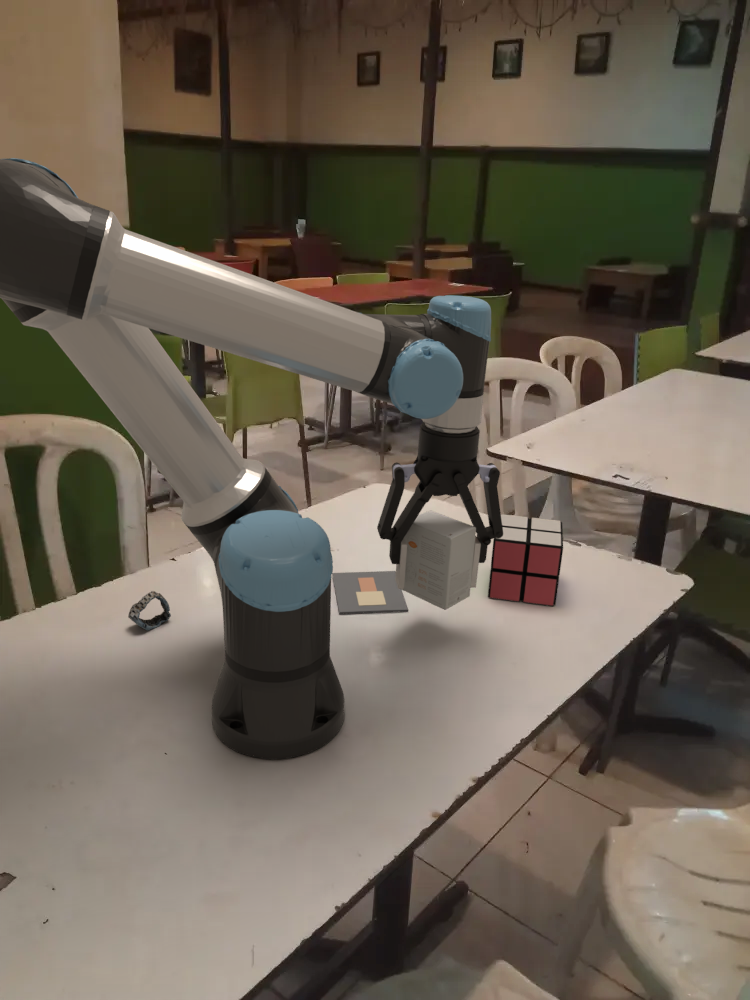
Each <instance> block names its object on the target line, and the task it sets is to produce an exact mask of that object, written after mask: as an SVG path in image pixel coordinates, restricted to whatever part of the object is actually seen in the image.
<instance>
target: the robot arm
mask: <svg viewBox="0 0 750 1000" xmlns="http://www.w3.org/2000/svg"><path fill="white" fill-rule="evenodd" d="M0 299H1V300H2V301H3V302H4V304H6V306H7V307H8V308H9V309H10V311H11V312H12V313H13V314H14V316H15V317H16V318H17V319H18V320H19V322H20V323H21V324H22V325H23V326H26V327H32V328H35V329H36V328H37V329H40V330H44V331H46V332H48V334H49V335H50V336H51V338H52V339H53V340H54V342H56V344H57V345H58V346H59V347H60V349H61V350H62V351H63V353H64V354H65V355H66V356H67V357H68V358H69V360H70V361H71V362H72V365H74V366H75V368H76V369H77V370H78V371H79V373H80V374H81V375H82V376H83V378H84V379H85V380H86V381H87V383H88V384H89V385H90V386H91V388H92V389H93V390H94V391H95V392H96V394H97V395H98V396H99V397H100V399H101V400H102V401H103V402H104V404H105V405H106V406H107V408H108V409H109V410H110V412H112V414H113V415H114V416H115V418H116V419H117V420H118V422H119V423H120V424H121V425H122V426H123V428H124V429H125V430H126V431H127V433H128V434H129V436H130V437H131V438H132V439H133V440H134V441H135V443H136V444H137V445H138V446H139V448H140V449H141V450H142V452H144V454H145V455H146V456H147V457H148V460H150V462H151V463H152V464H153V465H154V466H155V467H156V469H157V471H159V472H160V474H161V475H162V477H163V478H164V479H165V480H166V481H167V483H168V484H169V485H170V486H171V488H172V489H173V490H174V491H175V493H176V494H177V496H179V498H180V499H181V500H182V501H183V503H182V504H183V505H182V508H181V509H182V510H181V514H180V515H181V521H182V523H183V524H184V525H185V526H186V528H187V529H188V530H189V531H190V532H191V534H192V535H193V536H194V537H195V538H196V540H197V542H199V544H200V545H201V546H202V547H203V548H204V549H205V551H206V552H207V554H208V555H209V556H210V558H211V560H212V561H213V564H214V569H215V575H216V577H217V581H218V586H219V587H218V588H219V590H220V596H221V605H222V617H223V618H222V619H223V620H222V621H223V640H224V644H223V645H224V656H225V657H224V662H223V667H222V669H221V672H220V674H219V678H218V681H217V684H216V688H215V690H214V693H213V696H212V700H211V720H212V727H213V731H214V733H215V734H216V736H217V738H218V739H219V740H220V741H221V742H222V743H223V744H224V745H225V746H226V747H228V748H229V749H232V750H233V751H235V752H238V753H239V754H242V755H245V756H248V757H252V758H256V759H257V758H258V759H263V760H264V759H267V760H282V759H290V758H295V757H299V756H303V755H306V754H309V753H312V752H314V751H316V750H318V749H320V748H322V747H323V746H325V745H326V744H328V743H329V742H330V741H332V740H333V738H335V736H337V735H338V733H339V731H340V730H341V728H342V726H343V723H344V721H345V696H344V695H345V694H344V691H343V688H342V685H341V682H340V680H339V678H338V675H337V672H336V669H335V667H334V664H333V661H332V658H331V617H332V615H331V611H332V610H331V609H332V607H331V604H332V603H331V601H332V598H331V597H332V573H334V572H333V571H334V565H333V563H334V560H333V555H332V549H331V542H330V540H329V537H328V535H327V533H326V531H325V530H324V528H323V527H322V526H321V525H320V524H318V522H317V521H315V520H314V519H312V518H310V517H303V516H302V514H300V513H299V509H298V507H297V505H296V503H295V502H294V500H293V498H292V497H291V496H290V495H289V493H288V492H287V491H286V490H284V489H283V488H282V487H281V486H280V485H279V484H278V483H277V482H276V480H275V479H274V478H273V476H272V475H271V473H270V472H269V470H268V469H267V468H266V467H265V465H264V464H263V463H262V462H261V461H260V460H258V459H249V458H244V457H243V456H242V455H241V453H240V452H239V451H238V450H237V448H236V446H235V445H234V444H233V443H232V441H231V440H230V438H229V437H228V436H227V434H226V432H225V431H224V430H223V429H222V427H221V426H220V425H219V423H218V422H217V420H216V419H215V418H214V416H213V415H212V413H211V412H210V411H209V410H208V408H207V406H206V405H205V404H204V402H203V400H201V398H200V396H198V394H197V392H195V390H194V389H193V387H192V386H191V384H190V382H188V380H187V379H186V378H185V377H184V375H183V374H182V372H181V370H179V368H178V366H176V364H175V363H174V361H173V360H172V358H171V357H170V356H169V354H168V353H167V352H166V350H165V348H164V347H163V345H161V343H160V342H159V340H158V339H157V337H156V336H155V335H154V334H153V332H152V331H151V330H154V331H156V332H161V333H164V334H167V335H169V336H173V337H177V338H181V339H183V340H186V341H189V342H192V343H193V342H194V343H196V344H200V345H202V346H206V347H209V348H212V349H216V350H219V351H222V352H226V353H229V354H232V355H235V356H238V357H241V358H245V359H249V360H251V361H255V362H258V363H260V364H265V365H268V366H270V367H271V366H272V367H275V368H277V369H281V370H284V371H286V372H287V371H288V372H291V373H294V374H296V375H297V374H298V375H301V376H304V377H307V378H310V379H312V380H316V381H319V382H323V383H326V384H329V385H333V386H336V387H339V388H342V389H346V390H350V391H353V392H355V393H358V394H361V395H363V396H365V397H369V398H372V399H376V400H378V401H381V402H385V403H388V404H391V405H393V406H394V407H395V408H396V409H398V411H400V412H401V413H404V414H406V415H409V416H411V417H413V418H415V419H418V420H419V419H420V420H422V423H421V424H420V425H419V434H418V447H417V455H416V457H415V460H414V461H413V463H409V464H401V463H400V462H394V463H393V464H392V466H391V474H392V475H391V477H392V480H391V483H390V486H389V489H388V492H387V496H386V499H385V501H384V505H383V508H382V510H381V514H380V517H379V520H378V522H377V523H378V524H377V526H376V527H377V532H378V535H379V538H380V539H382V540H388V541H389V559H390V562H391V565H396V566H395V571H396V576H395V580H396V583H397V586H398V589H404V582H405V569H406V556H407V543H406V540H405V538H404V537H405V535H406V534H407V532H408V531H409V529H410V527H411V526H412V524H413V523H414V521H415V519H416V518H417V516H418V515H420V514H421V511H422V510H423V509H424V506H425V505H426V504H427V503H428V502H429V501H430V500H431V498H432V497H441V496H446V495H447V496H449V497H458V495H459V497H460V500H461V502H462V504H463V506H464V508H465V510H466V512H467V514H468V517H469V520H470V522H471V525H472V526H474V527H476V535H475V545H474V556H473V567H472V577H471V587H470V589H471V588H476V587H477V584H478V583H477V582H478V573H479V565H480V564H485V562H486V560H487V552H488V547H489V545H490V544H491V543H492V540H494V538H501V537H502V536H503V528H502V520H501V514H502V513H501V507H500V499H499V491H498V484H499V480H500V476H501V475H500V474H501V472H500V470H499V468H497V466H496V465H495V464H494V463H492V462H489V463H487V464H479V463H478V452H479V442H480V441H479V439H480V434H481V433H480V432H481V431H480V428H479V425H481V423H482V414H483V413H482V412H483V403H484V395H485V394H484V393H485V392H484V391H485V384H486V383H485V381H486V375H487V364H488V363H487V362H488V356H489V348H490V343H491V341H492V337H491V332H492V309H491V305H490V304H489V303H488V302H487V301H486V300H484V299H481V298H478V297H472V296H463V295H436V296H433V297H432V298H431V299H430V301H429V304H428V309H427V311H426V313H419V314H384V313H383V314H381V313H380V314H378V313H377V314H375V313H373V314H372V313H362V312H358V311H354V310H351V309H349V308H347V307H343V306H341V305H337V304H335V303H332V302H329V301H326V300H324V299H321V298H318V297H316V296H312V295H309V294H307V293H304V292H302V291H300V290H299V291H298V290H296V289H294V288H290V287H287V286H285V285H282V284H280V283H276V282H273V281H270V280H267V279H266V278H262V277H259V276H256V275H254V274H252V273H248V272H246V271H243V270H240V269H237V268H234V267H232V266H228V265H226V264H225V263H224V264H223V263H221V262H218V261H216V260H212V259H209V258H207V257H204V256H202V255H201V256H200V255H199V254H196V253H193V252H190V251H186V250H184V249H182V248H178V247H176V246H173V245H170V244H167V243H165V242H162V241H159V240H156V239H153V238H150V237H148V236H145V235H142V234H139V233H137V232H134V231H131V230H128V229H125V227H123V225H122V224H121V223H120V221H119V218H118V217H117V216H116V214H115V213H114V211H111V210H108V209H106V208H103V207H101V206H97V205H95V204H93V203H89V202H86V201H84V200H83V199H81V198H80V197H78V195H77V194H76V192H75V191H74V189H73V188H72V187H71V186H70V184H68V183H67V182H66V181H65V180H64V179H63V178H61V177H60V176H59V174H58V173H55V172H54V171H52V170H51V169H50V168H47V167H46V166H44V165H41V164H39V163H37V162H35V161H31V160H27V159H21V158H17V157H16V158H14V157H11V158H0ZM414 474H415V476H416V477H417V479H419V482H418V483H417V485H416V487H415V488H414V492H413V494H412V495H411V498H410V499H409V501H408V502H407V504H406V505H405V507H404V509H403V510H402V511H401V514H400V515H399V517H398V518H397V520H396V521H395V518H396V515H397V512H398V510H399V509H398V508H399V506H400V504H401V500H402V496H403V494H404V491H405V490H404V489H405V485H406V483H408V482H409V481H410V478H411V476H412V475H414ZM478 475H479V477H480V478H479V479H480V480H481V481H482V482H483V487H484V488H483V489H484V490H483V492H484V497H485V504H486V511H487V519H488V525H489V526H485V524H484V522H483V519H482V517H481V515H480V513H479V510H478V508H477V506H476V503H475V501H474V498H473V495H472V493H471V490H470V488H469V487H468V486H469V485H470V484H471V483H472V482H473V480H474V479H475V478H476V477H477V476H478ZM394 521H395V523H394ZM393 524H394V525H393Z"/></svg>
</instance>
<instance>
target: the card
mask: <svg viewBox="0 0 750 1000" xmlns="http://www.w3.org/2000/svg"><path fill="white" fill-rule="evenodd" d="M395 576H396V570H384V571H383V570H382V571H380V570H379V571H355V572H354V571H350V572H349V571H347V572H346V571H345V572H332V574H331V577H332V579H333V580H332V581H333V588H334V592H335V598H336V603H337V608H338V615H361V614H363V615H364V614H384V613H385V614H388V613H409V607H408V605H407V602H406V598H405V595H404V591H403V590H401V589H398V586H397V583H396V580H395Z"/></svg>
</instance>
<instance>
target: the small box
mask: <svg viewBox="0 0 750 1000" xmlns="http://www.w3.org/2000/svg"><path fill="white" fill-rule="evenodd" d="M476 535H477V533H476V527H474V526H473V525H472V524H468V523H466V522H463V521H460V520H458V519H455V518H452V517H450V516H448V515H445V514H442V513H439V512H436V511H434V510H428V511H426V512H423V513H419V515H418V516H417V518H416V519H415V521H414V523H413V524H412V526H411V527H410V529H409V531H408V532H407V534H406V535H405V537H404V538H405V540H406V543H407V556H406V569H405V582H404V589H401V590H402V592H406V593H409V594H410V595H412V596H414V597H417V598H419V599H420V600H421V601H422V600H423V601H425V602H427V603H429V604H431V605H433V606H436V607H438V608H440V609H442V610H448V609H449V608H451V607H453V606H456V605H458V603H461V602H462V601H464V600H466V599H468V598H469V597H470V595H471V588H470V587H471V577H472V567H473V556H474V545H475V536H476Z"/></svg>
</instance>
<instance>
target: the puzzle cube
mask: <svg viewBox="0 0 750 1000" xmlns="http://www.w3.org/2000/svg"><path fill="white" fill-rule="evenodd" d="M501 520H502V528H503V536H502V537H501V538H493V539H492V540H493V541H492V551H491V562H490V570H489V571H490V572H489V583H488V591H487V597H488V598H489V599H493V600H499V601H500V600H501V601H510V602H514V603H515V602H516V603H520V602H522V603H524V604H532V605H539V606H540V605H541V606H546V605H548V606H549V607H554V606H556V603H557V597H558V588H559V581H560V574H561V573H560V572H561V567H562V561H563V559H562V558H563V552H564V536H563V534H564V533H563V532H564V531H563V522H562V520H557V519H547V518H538V517H531V518H529V516H521V515H511V514H502V513H501Z"/></svg>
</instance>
